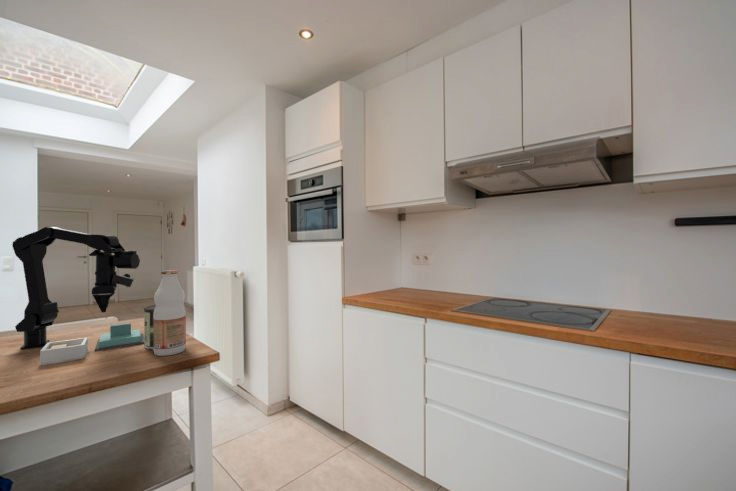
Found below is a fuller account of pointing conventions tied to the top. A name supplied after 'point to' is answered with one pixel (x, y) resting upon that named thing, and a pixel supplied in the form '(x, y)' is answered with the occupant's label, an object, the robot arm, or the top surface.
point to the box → (64, 351)
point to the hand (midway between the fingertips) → (104, 309)
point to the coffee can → (149, 327)
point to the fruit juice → (169, 316)
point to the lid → (119, 335)
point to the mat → (120, 345)
